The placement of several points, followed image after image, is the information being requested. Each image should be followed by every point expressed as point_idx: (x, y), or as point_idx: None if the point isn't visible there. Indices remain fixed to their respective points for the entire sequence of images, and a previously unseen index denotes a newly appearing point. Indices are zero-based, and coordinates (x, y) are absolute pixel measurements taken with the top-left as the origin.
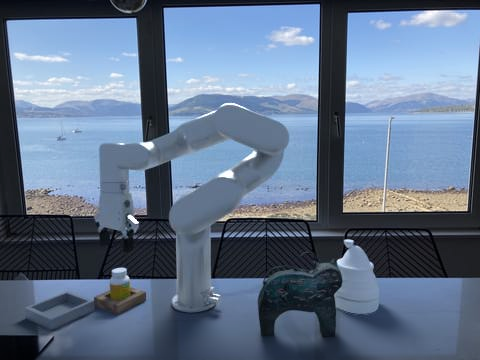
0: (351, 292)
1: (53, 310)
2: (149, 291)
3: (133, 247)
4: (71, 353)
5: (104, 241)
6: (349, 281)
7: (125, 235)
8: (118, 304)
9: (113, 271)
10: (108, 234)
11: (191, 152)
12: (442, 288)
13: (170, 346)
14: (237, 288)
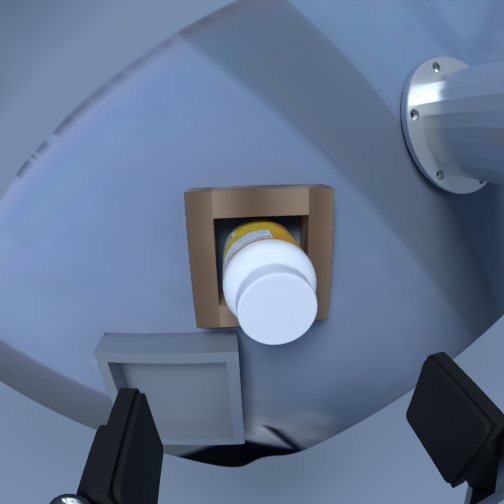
0: None
1: (147, 389)
2: (274, 120)
3: (451, 359)
4: (349, 424)
5: (153, 459)
6: None
7: (483, 490)
8: (323, 313)
9: (268, 339)
10: (131, 480)
11: None
12: None
13: (487, 310)
14: (472, 7)
